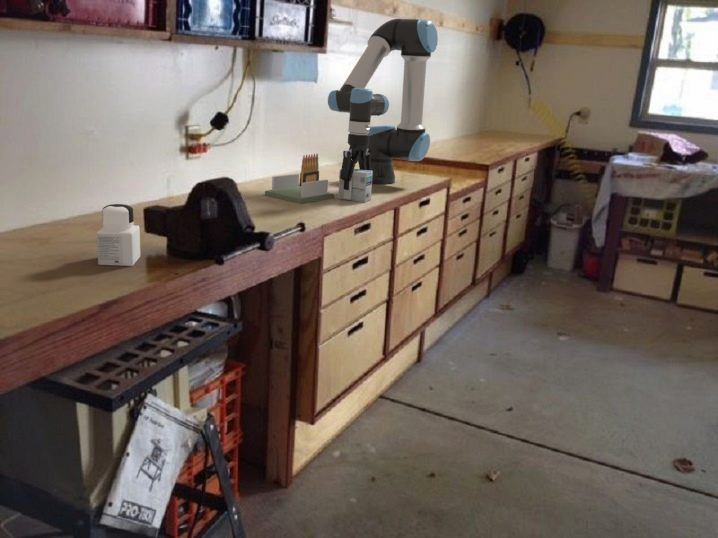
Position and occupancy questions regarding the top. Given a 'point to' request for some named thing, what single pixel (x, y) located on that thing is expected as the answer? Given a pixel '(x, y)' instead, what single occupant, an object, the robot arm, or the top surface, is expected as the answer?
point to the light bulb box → (358, 186)
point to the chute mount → (298, 189)
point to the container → (118, 237)
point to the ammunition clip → (309, 169)
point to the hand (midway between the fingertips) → (354, 197)
